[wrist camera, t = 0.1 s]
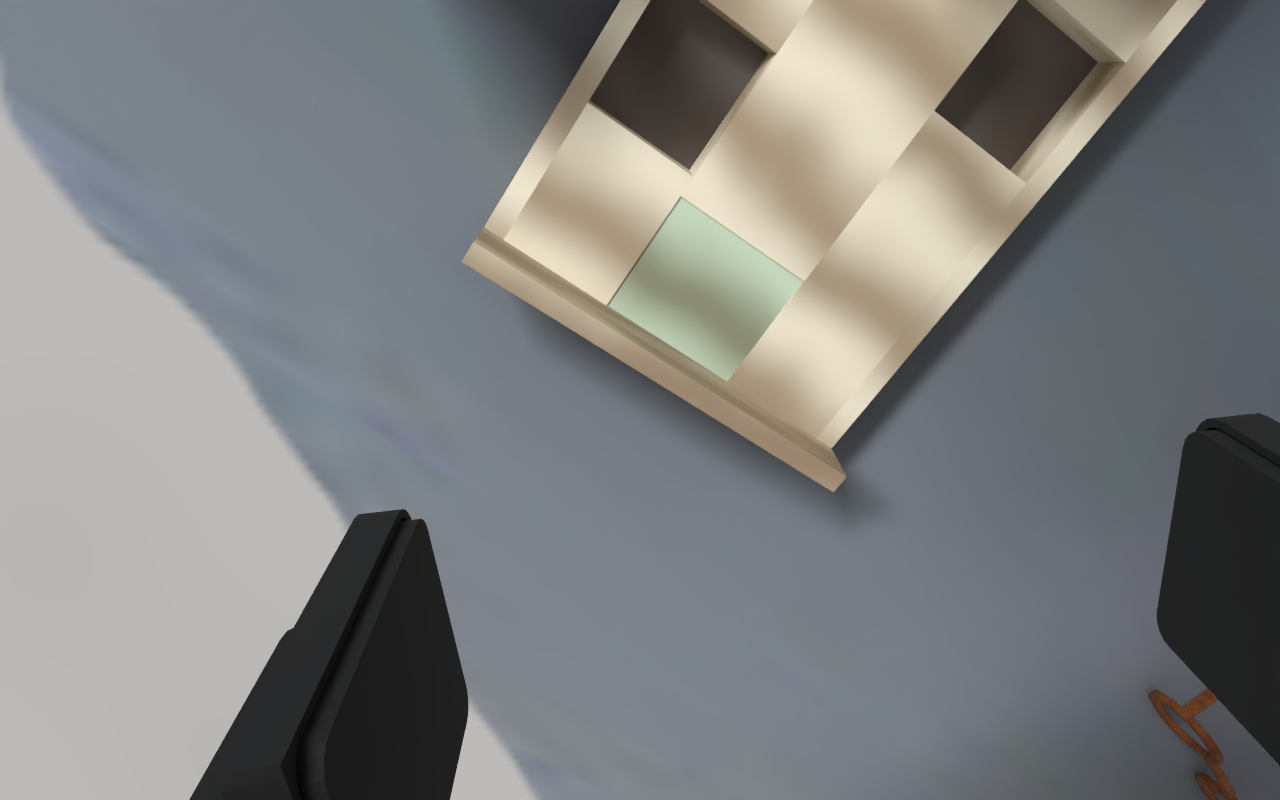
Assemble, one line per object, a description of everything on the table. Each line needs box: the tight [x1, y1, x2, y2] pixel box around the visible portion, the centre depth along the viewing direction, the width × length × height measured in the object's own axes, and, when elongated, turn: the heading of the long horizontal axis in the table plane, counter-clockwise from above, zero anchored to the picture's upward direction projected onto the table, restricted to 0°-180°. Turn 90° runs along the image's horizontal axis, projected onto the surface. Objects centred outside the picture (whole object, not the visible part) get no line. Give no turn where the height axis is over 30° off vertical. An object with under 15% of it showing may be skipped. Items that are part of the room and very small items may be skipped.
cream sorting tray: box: [462, 0, 1206, 492], centre depth 35 cm, size 29×20×6 cm
